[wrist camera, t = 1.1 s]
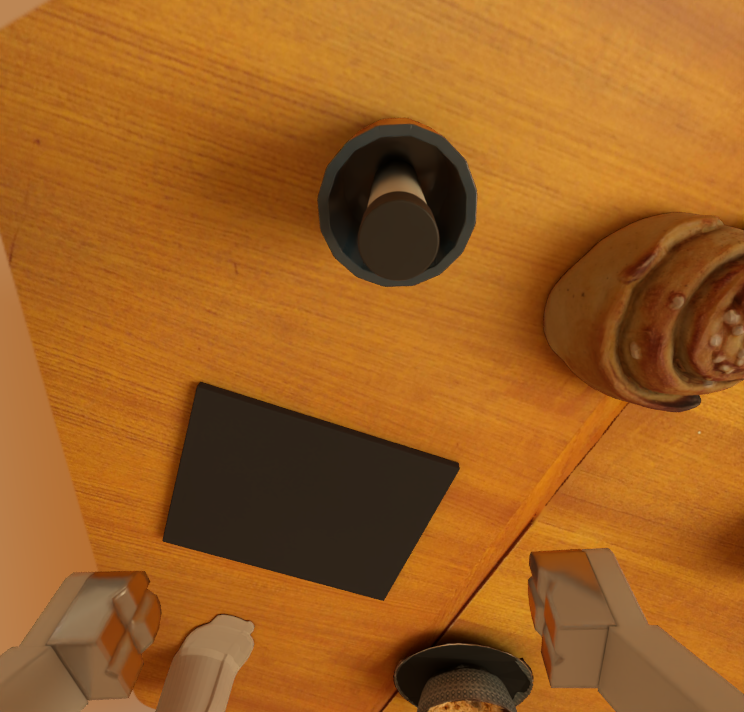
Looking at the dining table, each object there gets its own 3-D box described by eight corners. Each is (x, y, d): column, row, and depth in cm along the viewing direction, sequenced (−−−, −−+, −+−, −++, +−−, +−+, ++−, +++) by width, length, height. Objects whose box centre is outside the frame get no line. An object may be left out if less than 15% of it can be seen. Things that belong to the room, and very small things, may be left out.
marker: (364, 199, 31) (346, 265, 18) (381, 150, 30) (374, 187, 17) (409, 215, 31) (420, 292, 19) (427, 169, 30) (452, 217, 18)
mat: (165, 534, 46) (161, 541, 46) (200, 381, 38) (196, 386, 38) (383, 594, 49) (383, 601, 48) (459, 462, 41) (460, 468, 40)
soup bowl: (461, 609, 50) (472, 687, 43) (564, 674, 54) (588, 753, 48) (367, 672, 55) (363, 749, 49) (467, 726, 60) (476, 803, 53)
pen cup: (322, 218, 32) (299, 257, 24) (359, 98, 29) (347, 97, 21) (427, 256, 33) (438, 306, 25) (474, 144, 30) (505, 160, 22)
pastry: (811, 297, 33) (925, 350, 26) (615, 420, 39) (666, 492, 31) (720, 144, 29) (825, 159, 22) (513, 305, 34) (545, 358, 27)
